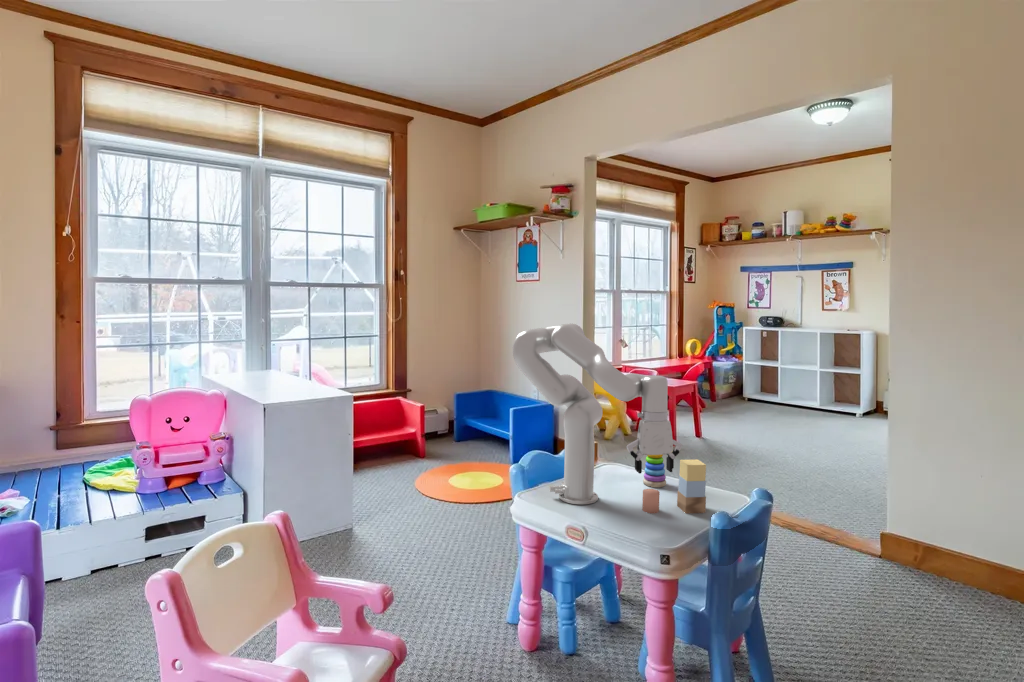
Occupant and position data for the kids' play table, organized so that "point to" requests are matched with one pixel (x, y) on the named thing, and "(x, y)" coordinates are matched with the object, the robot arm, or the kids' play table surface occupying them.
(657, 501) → the cylinder
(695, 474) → the tower top
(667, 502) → the kids' play table surface
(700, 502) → the tower base
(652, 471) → the stacking toy
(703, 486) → the tower mid
